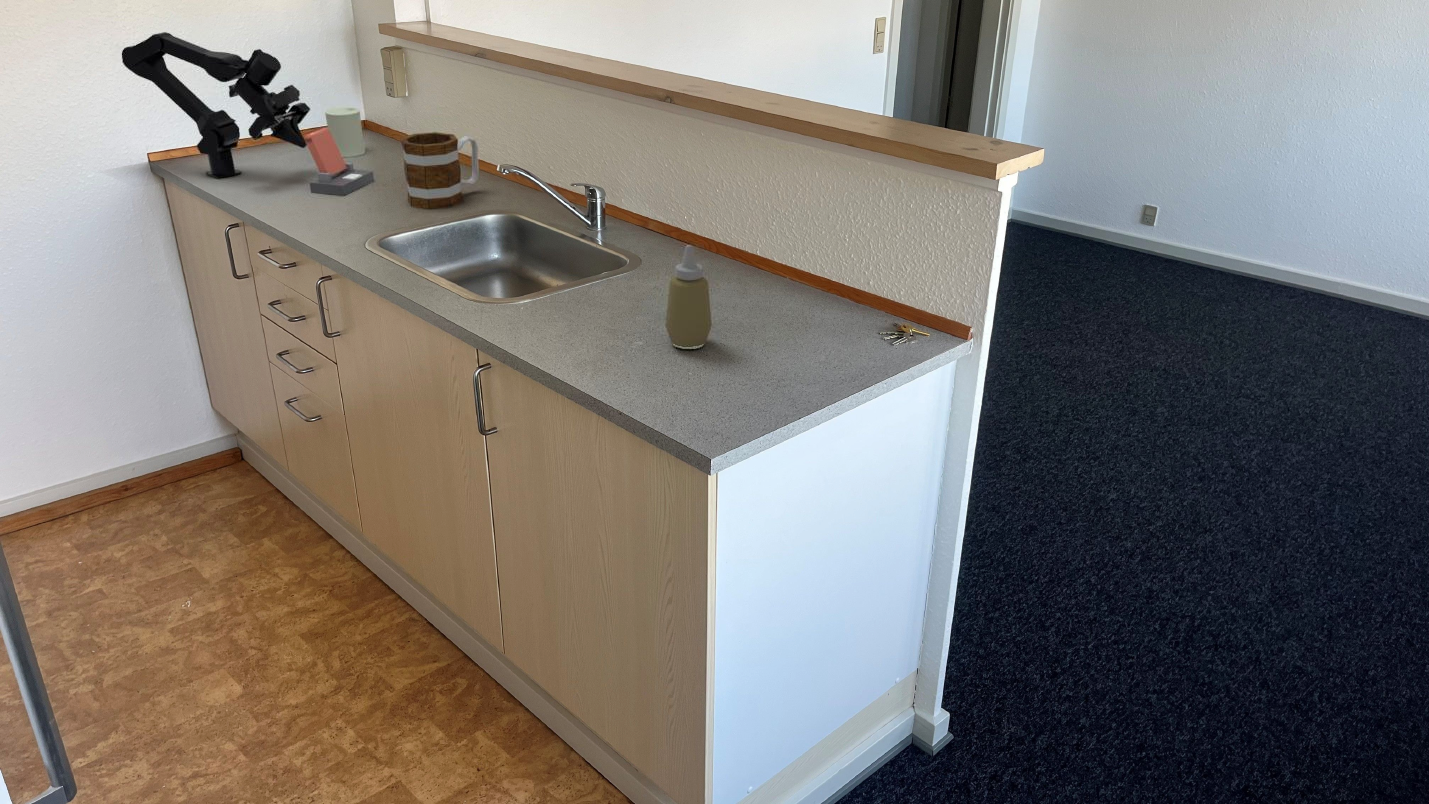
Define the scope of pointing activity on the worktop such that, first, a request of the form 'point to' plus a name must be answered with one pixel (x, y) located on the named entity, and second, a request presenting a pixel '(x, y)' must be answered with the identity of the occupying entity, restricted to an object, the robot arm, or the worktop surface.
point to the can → (346, 130)
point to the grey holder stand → (341, 181)
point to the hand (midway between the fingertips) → (305, 146)
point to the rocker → (325, 151)
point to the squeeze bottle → (688, 303)
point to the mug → (436, 169)
